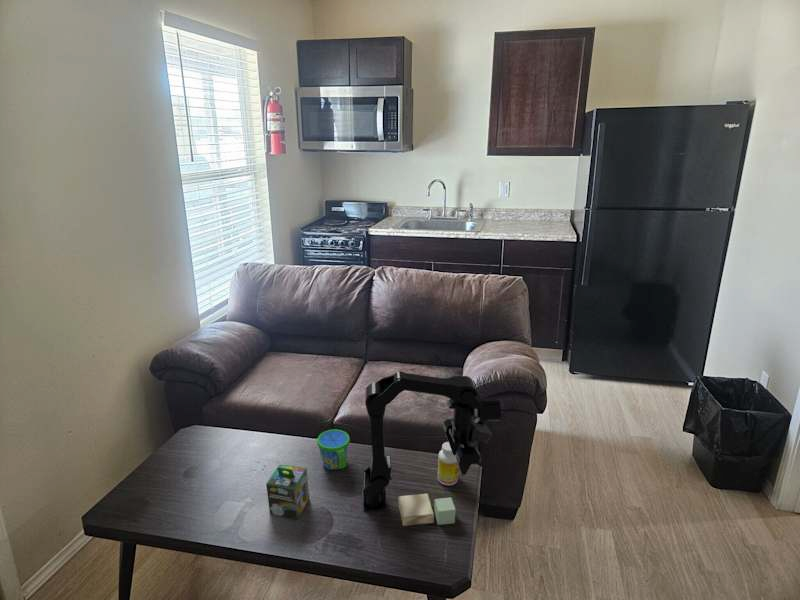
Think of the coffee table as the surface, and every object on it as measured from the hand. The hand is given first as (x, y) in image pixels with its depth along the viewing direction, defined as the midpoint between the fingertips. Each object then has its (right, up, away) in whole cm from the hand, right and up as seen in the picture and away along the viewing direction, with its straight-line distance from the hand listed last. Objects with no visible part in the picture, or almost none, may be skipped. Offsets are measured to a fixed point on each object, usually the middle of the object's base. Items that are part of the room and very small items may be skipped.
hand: (459, 464), depth 153 cm
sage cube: (-5, -15, -2) cm, 16 cm away
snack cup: (-40, -6, +20) cm, 45 cm away
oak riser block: (-13, -14, 0) cm, 19 cm away
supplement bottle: (-2, -9, +14) cm, 17 cm away
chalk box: (-51, -13, +2) cm, 52 cm away
